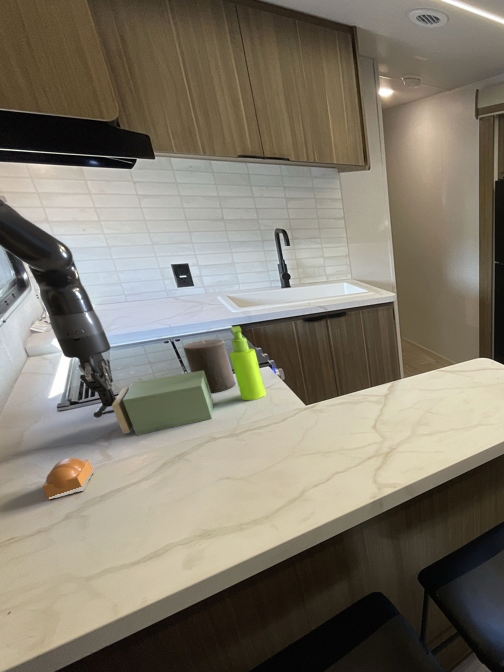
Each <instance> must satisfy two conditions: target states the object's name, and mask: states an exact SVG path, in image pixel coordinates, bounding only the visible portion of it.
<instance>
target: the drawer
mask: <svg viewBox="0 0 504 672" xmlns="http://www.w3.org/2000/svg"><path fill="white" fill-rule="evenodd" d="M129 389H130V387H124V388H123V387H122V388H121V390H120V392H119V393H118V395H116V397H115V398H116V400H115V401H114V403H113V404H112V405H109V406H103V404H102V402H101V403H99V405H98V407H97V408H96V410H95V411H94V412H93V417H94V418H98V419H99V418H101V417H102V416H104V415H108V414H113V413H114V415H115V417H116V419H117V422H118V424H119V427H120V429H121V432H122V434H128V433H131V432H132V429H133V425H132V423H131V420H130V418H129V415H128V413H127V410H126V408H125V405H124V402H123V399H124V397H125V395H126V394H127V392H128V390H129ZM110 407H112V409H108V408H110ZM107 409H108V410H107Z"/></svg>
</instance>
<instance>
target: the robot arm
mask: <svg viewBox="0 0 504 672" xmlns="http://www.w3.org/2000/svg"><path fill="white" fill-rule="evenodd" d="M0 247H1V248H3V249H4V250H5V251H7V252H8V253H9V254H11V255H13V256H14V257H16V258H17V259H19V260H20V261H21V262H23V263H24V264H26V265H27V266H28V269H29V271H30V273H31V276H32V277H33V279H34V281H35V283H36V285H37V287H38V293H39V297H40V300H41V303H42V305H43V307H44V309H45V311H46V313H47V315H48V319H49V323H50V326H51V329H52V332H53V334H54V336H55V339H56V341H57V343H58V345H59V348H60V350H61V352H62V354H63V356H64V357H65V358H69V359H78V361H79V364H78V369H79V371H80V372H81V374H80V375H79V379H80V380H81V381H82V382H83V384H85V386H86V387H87V388H88V389H89V390H90V391H91V392H92V393H97V395H98V397H99V400H100V402H101V403H102V404H103V406H109V405H112V404H113V403H114V401H115V400H116V398H117V397H116V396H115V392H114V391H113V388H112V387H113V384H112V383H113V381H114V380H113V375H112V370H111V364H110V363H111V361H110V360H109V359H107V357H104V356H103V354H104V353H106V352H108V351H110V350H111V345H110V342H109V340H108V337H107V334H106V332H105V330H104V327H103V324H102V322H101V319H100V318H99V316H98V315H97V312H96V310H95V309H94V306H93V303H92V301H91V298H90V296H89V294H88V291H87V290H86V288H85V286H84V285H83V283H82V281H81V278H80V275H79V271H78V269H77V266H76V263H75V261H74V255H73V253H72V251H71V249H70V247H68V245H66V244H65V243H64V242H62V241H61V240H59V239H58V238H56V237H55V236H53V235H51V234H50V233H49V232H47V231H45V230H44V229H42V228H41V227H39V226H38V225H36V224H35V223H33V222H31V221H30V220H29V219H26V218H25V217H24V216H22V215H21V214H20V213H19V212H18V211H17V210H16V209H14V208H13V207H12V206H10V205H9V204H8V203H6V202H5V201H3V200H2V199H0Z"/></svg>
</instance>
